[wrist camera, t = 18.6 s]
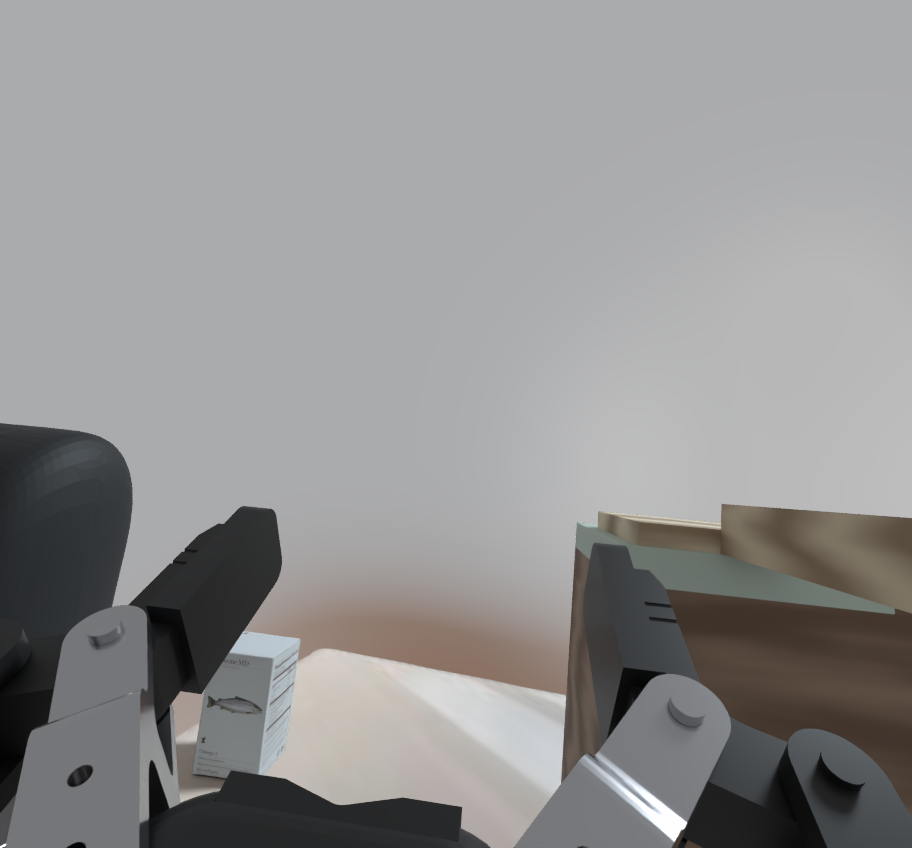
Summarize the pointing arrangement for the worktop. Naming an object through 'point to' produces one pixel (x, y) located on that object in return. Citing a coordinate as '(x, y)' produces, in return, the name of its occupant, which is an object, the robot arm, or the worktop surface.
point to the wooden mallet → (793, 545)
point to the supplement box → (247, 707)
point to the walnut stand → (766, 654)
